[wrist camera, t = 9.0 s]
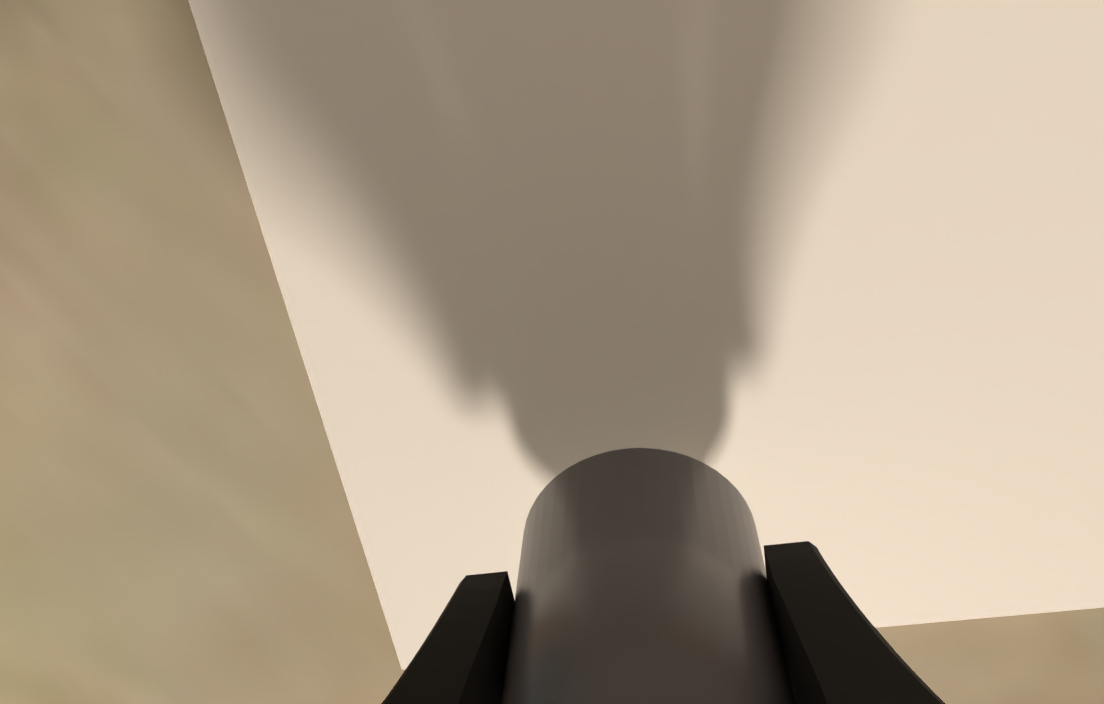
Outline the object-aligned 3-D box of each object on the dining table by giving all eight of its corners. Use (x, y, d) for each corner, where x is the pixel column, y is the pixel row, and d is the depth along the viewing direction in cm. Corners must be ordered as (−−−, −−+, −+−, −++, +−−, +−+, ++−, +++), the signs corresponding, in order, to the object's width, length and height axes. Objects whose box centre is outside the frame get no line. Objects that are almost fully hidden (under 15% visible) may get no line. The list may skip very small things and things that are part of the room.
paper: (1680, -346, 11) (1708, -352, 10) (1418, 567, 16) (1431, 577, 16) (179, -58, 13) (170, -57, 13) (405, 658, 18) (401, 669, 18)
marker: (750, 402, 14) (875, 873, 8) (762, 597, 16) (874, 1127, 9) (503, 427, 15) (411, 894, 8) (539, 614, 16) (490, 1134, 10)
